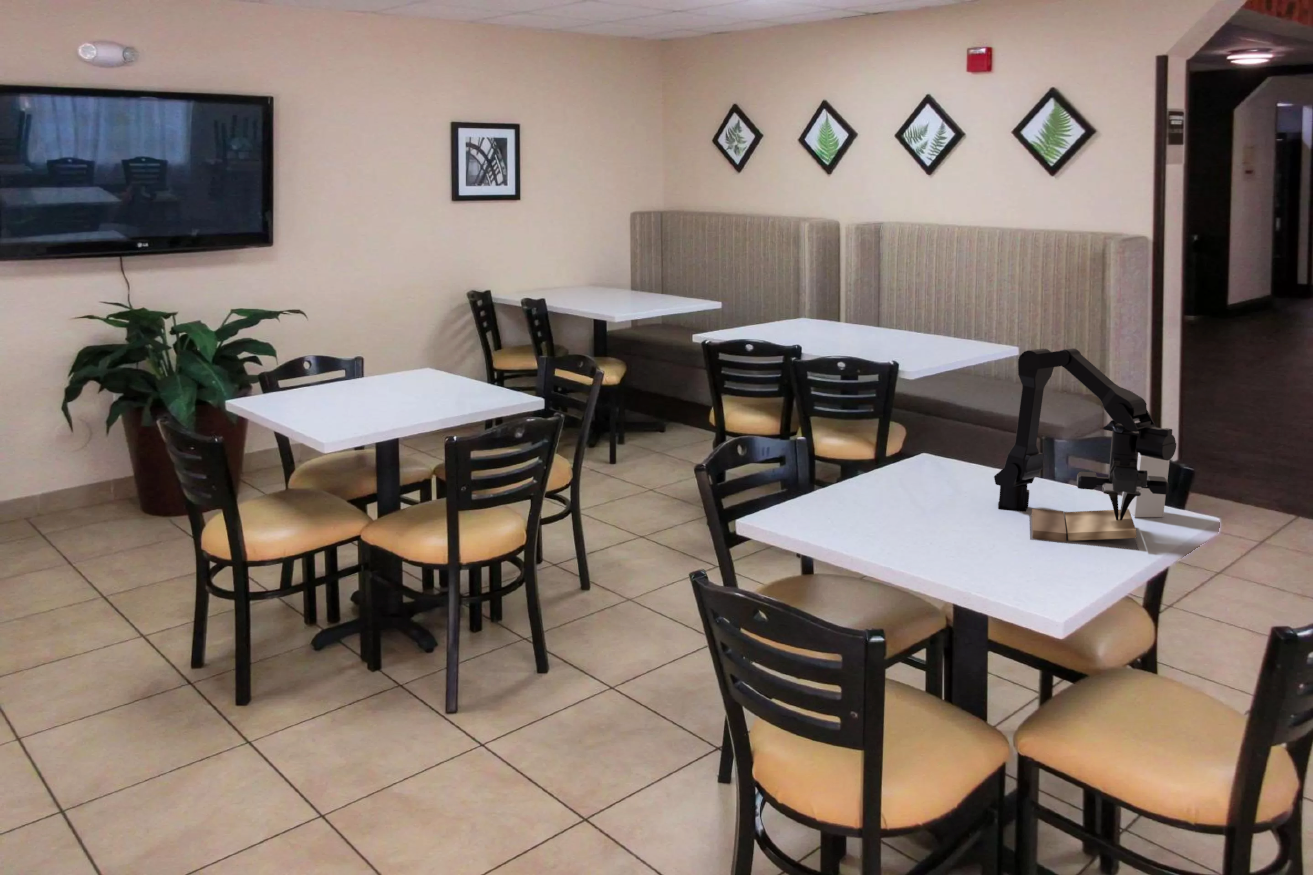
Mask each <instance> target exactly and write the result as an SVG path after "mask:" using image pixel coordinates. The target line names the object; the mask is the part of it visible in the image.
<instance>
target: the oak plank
mask: <svg viewBox="0 0 1313 875" xmlns="http://www.w3.org/2000/svg"><path fill="white" fill-rule="evenodd" d="M1120 510H1121V509H1118V511H1119V516H1118V520H1116V517H1115V513H1114V509H1107V510H1104V509H1103V510H1085V511H1084V510H1083V511H1065V512H1064V518H1065V521H1066V528H1067V535H1068V541H1072V540H1097V539H1122V538H1135V539H1137V529H1136V526H1135V523H1134V520H1133V516H1132V515H1131V514H1130V511H1129V509H1127V511H1126V513H1125V515H1124V517H1123V519H1122V520H1120Z"/></svg>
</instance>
